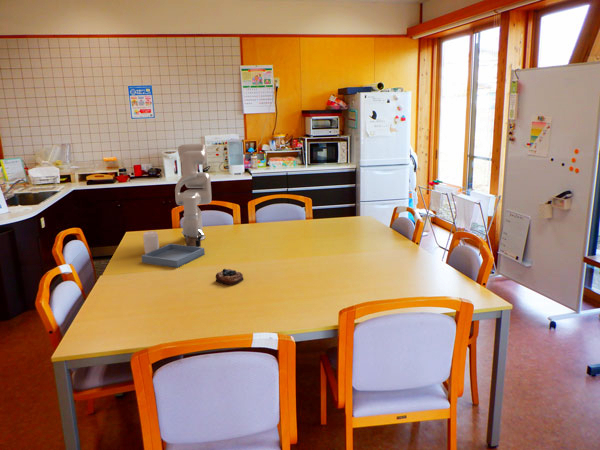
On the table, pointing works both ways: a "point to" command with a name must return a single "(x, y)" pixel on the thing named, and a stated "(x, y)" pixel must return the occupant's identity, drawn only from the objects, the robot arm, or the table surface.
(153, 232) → the beverage can
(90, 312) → the table surface
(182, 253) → the slate tray
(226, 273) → the pastry
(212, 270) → the table surface
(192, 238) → the walnut block
